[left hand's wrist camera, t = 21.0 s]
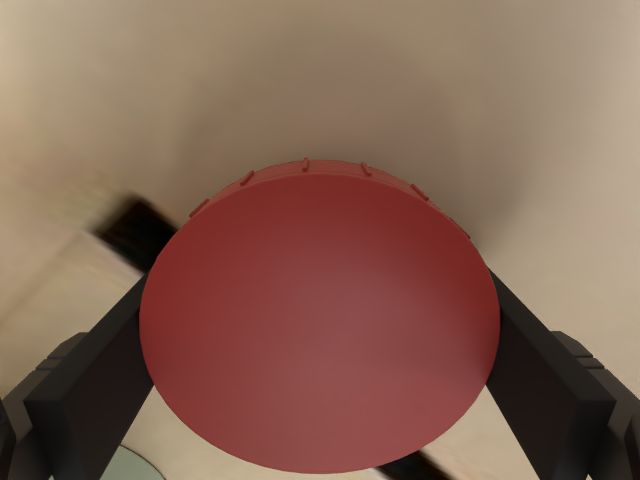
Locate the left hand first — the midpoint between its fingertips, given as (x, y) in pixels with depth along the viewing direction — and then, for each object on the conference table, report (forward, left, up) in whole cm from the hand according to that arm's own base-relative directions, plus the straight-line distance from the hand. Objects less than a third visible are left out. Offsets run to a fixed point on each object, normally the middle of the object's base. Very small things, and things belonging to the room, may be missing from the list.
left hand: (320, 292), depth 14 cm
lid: (0, 0, +3) cm, 3 cm away
